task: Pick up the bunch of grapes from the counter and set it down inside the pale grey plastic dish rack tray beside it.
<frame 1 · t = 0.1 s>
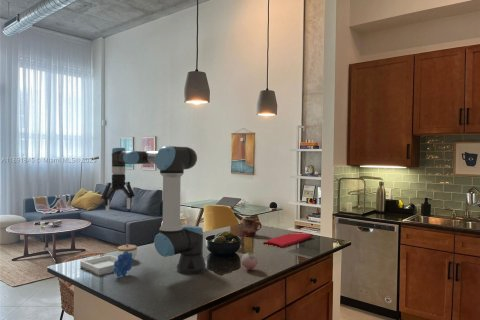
hand: (118, 210, 210), 28 cm above the kitchen island, tool pointing down, fingers open, 13 cm apart
decorative fruit: (249, 270, 189), on the kitchen island
decorative planter: (250, 236, 273), on the kitchen island
dish rack tray: (104, 267, 191), on the kitchen island
dish drying mat: (289, 242, 256), on the kitchen island
grapes: (122, 275, 179), on the kitchen island
lidded jar: (127, 260, 204), on the kitchen island
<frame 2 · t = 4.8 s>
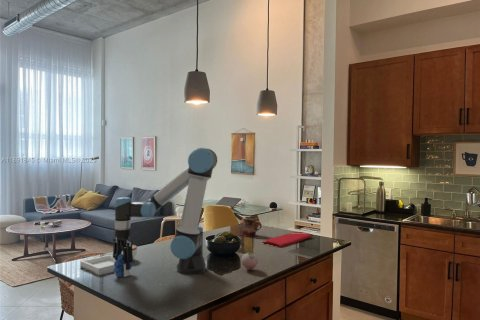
hand: (122, 274, 179), 1 cm above the kitchen island, tool pointing down, fingers closed on grapes, 7 cm apart
grapes: (122, 275, 179), on the kitchen island, touching gripper
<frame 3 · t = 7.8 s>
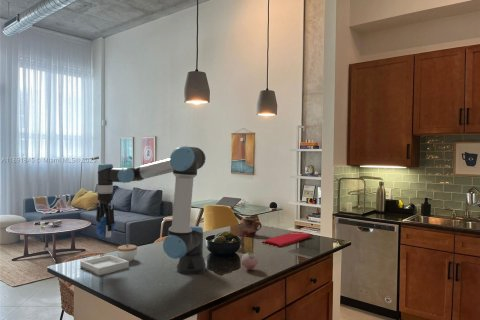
hand: (104, 235, 190), 17 cm above the kitchen island, tool pointing down, fingers closed on grapes, 7 cm apart
grapes: (104, 237, 190), point 16 cm above the kitchen island, touching gripper
when the fingers open (3 cm above the kitchen island, at t = 11.1 s): grapes drops 2 cm, resting on dish rack tray.
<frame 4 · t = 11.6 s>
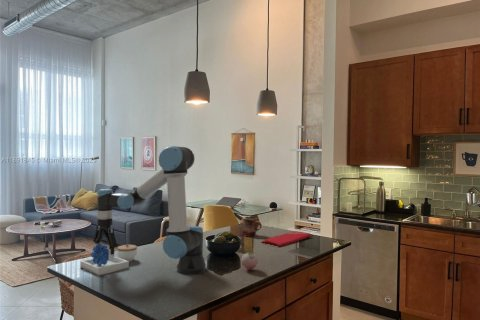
hand: (104, 257, 191), 5 cm above the kitchen island, tool pointing down, fingers open, 13 cm apart
grapes: (104, 265, 191), point 1 cm above the kitchen island, touching dish rack tray, gripper
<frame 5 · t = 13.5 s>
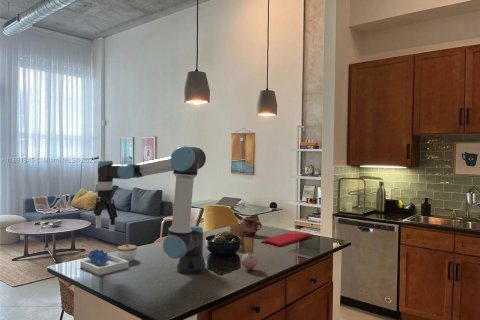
hand: (104, 229, 190), 21 cm above the kitchen island, tool pointing down, fingers open, 13 cm apart
grapes: (104, 265, 191), point 1 cm above the kitchen island, touching dish rack tray
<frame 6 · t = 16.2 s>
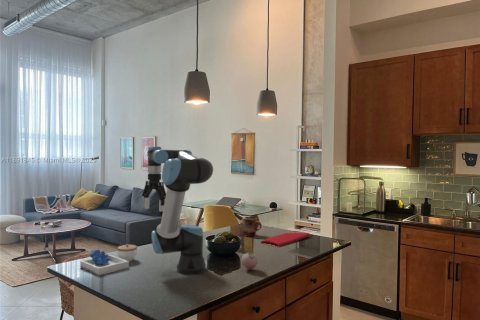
hand: (154, 210, 206), 29 cm above the kitchen island, tool pointing down, fingers open, 13 cm apart
at the end: grapes inside the target area on the dish rack tray (0.1 cm from its centre), point 1.3 cm above the dish rack tray's base; the gripper is holding nothing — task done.
